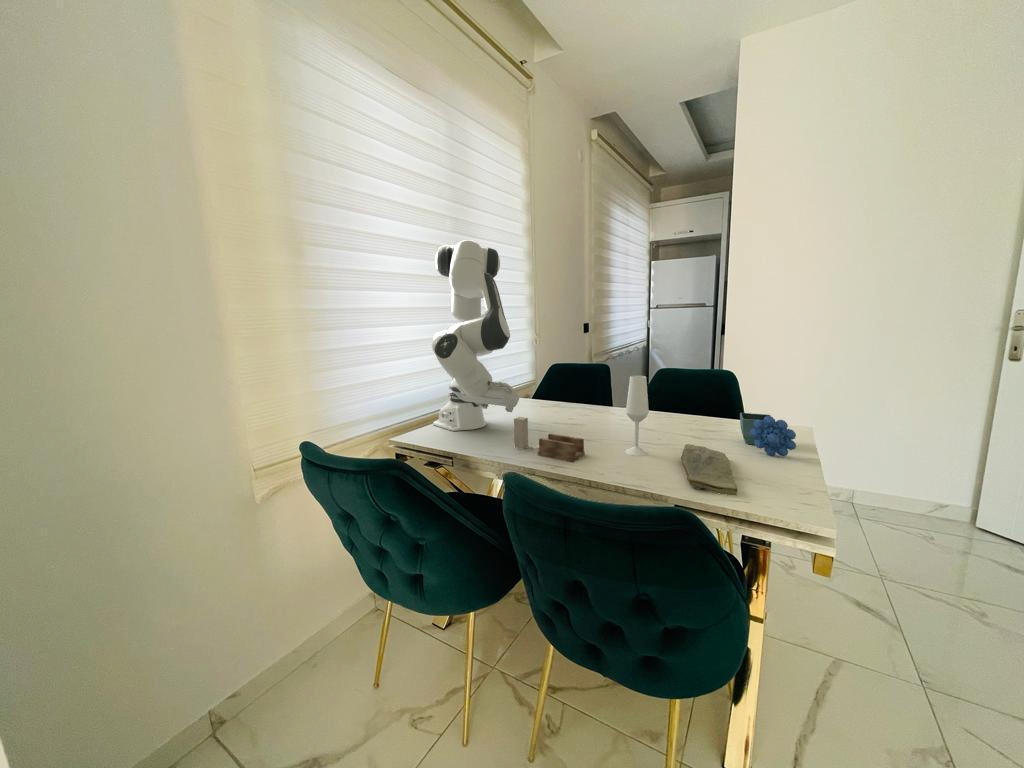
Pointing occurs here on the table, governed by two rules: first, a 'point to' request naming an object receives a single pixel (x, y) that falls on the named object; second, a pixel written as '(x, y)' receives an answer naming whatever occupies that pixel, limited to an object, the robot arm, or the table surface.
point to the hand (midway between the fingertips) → (498, 408)
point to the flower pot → (749, 425)
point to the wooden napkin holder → (561, 447)
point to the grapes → (773, 436)
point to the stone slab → (708, 469)
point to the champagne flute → (637, 408)
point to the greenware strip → (521, 432)
